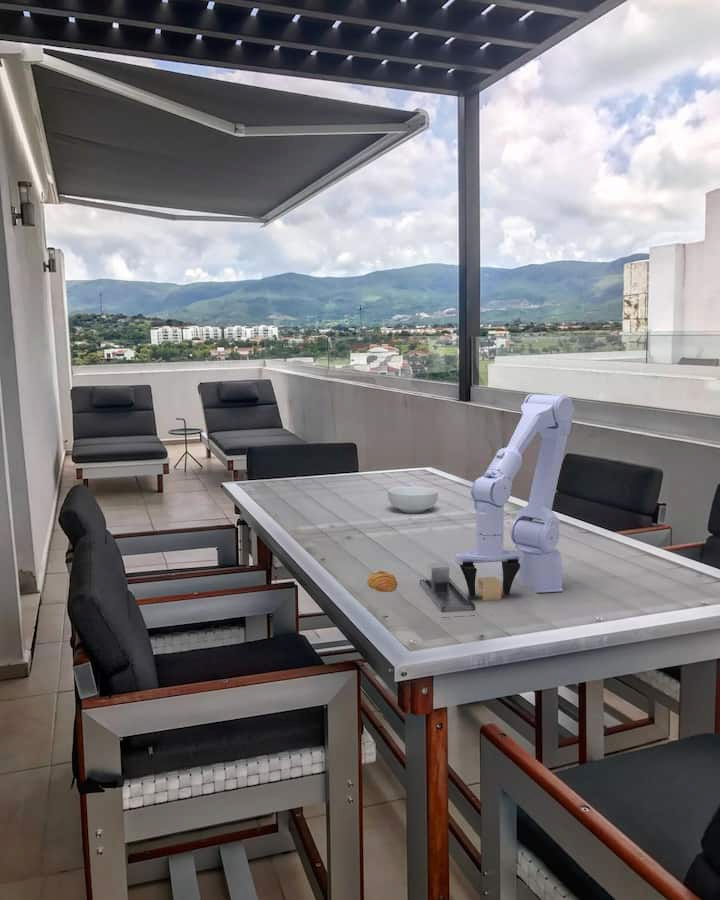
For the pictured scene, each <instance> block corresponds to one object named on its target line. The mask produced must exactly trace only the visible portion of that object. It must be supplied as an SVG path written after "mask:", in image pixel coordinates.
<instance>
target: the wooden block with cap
mask: <svg viewBox="0 0 720 900" xmlns="http://www.w3.org/2000/svg"><path fill="white" fill-rule="evenodd" d="M477 596H478V598H480V600H482V601H495V600H496V601H497V600H502V581H501V580H500V579H498V578H497V577H496V576H487V577H486V576H484V577H477Z"/></svg>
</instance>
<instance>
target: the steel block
mask: <svg viewBox="0 0 720 900" xmlns="http://www.w3.org/2000/svg"><path fill="white" fill-rule="evenodd" d="M426 573H427V585H428V586H429V587H430V588H431V590H436V592H445V591H447V589H449V578H450V567H449V565H448V564H447V563H446V562H430V563H429V562H428V563H427V571H426Z"/></svg>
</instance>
